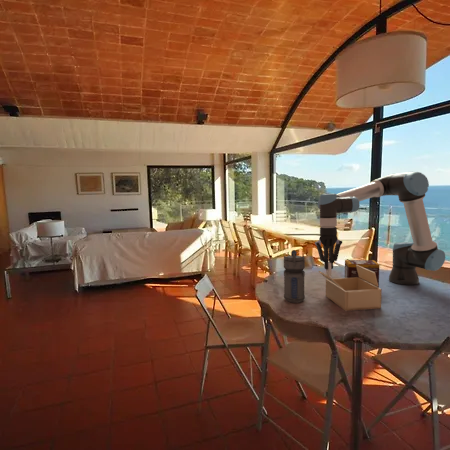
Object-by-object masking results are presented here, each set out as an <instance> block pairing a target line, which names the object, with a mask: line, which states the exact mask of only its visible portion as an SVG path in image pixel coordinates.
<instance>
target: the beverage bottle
mask: <svg viewBox="0 0 450 450" xmlns="http://www.w3.org/2000/svg"><path fill="white" fill-rule="evenodd" d="M290 253H291V255H287V256H286V255H284V256H283V268H284V270H283V280H284V281H283V282H284V283H283V284H284V285H283V286H284V287H283V289H284V292H283V293H284V294H283V298H284V300H285V302H288V303H294V304H298V303H302V302H304V300H305V277H306V276H305V275H306V272H305V270H304V269H305V266H306V264H305V263H306V261H305V259H306V258H305V256H304V255H303V256H301V255H297V253H298V252H297V250H295V249H292V251H291V252H290Z"/></svg>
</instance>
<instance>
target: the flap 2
mask: <svg viewBox="0 0 450 450" xmlns="http://www.w3.org/2000/svg"><path fill="white" fill-rule="evenodd" d="M356 267H357V271H358V275H359V277H360V278H362V279H364V280H366V281H368V282H370V283H372V284H374V285H376V286H378V282H377V278H376V274H375V272H373V271H370V270H368V269H366V268H363V267H361V266H359V265H356Z"/></svg>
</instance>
